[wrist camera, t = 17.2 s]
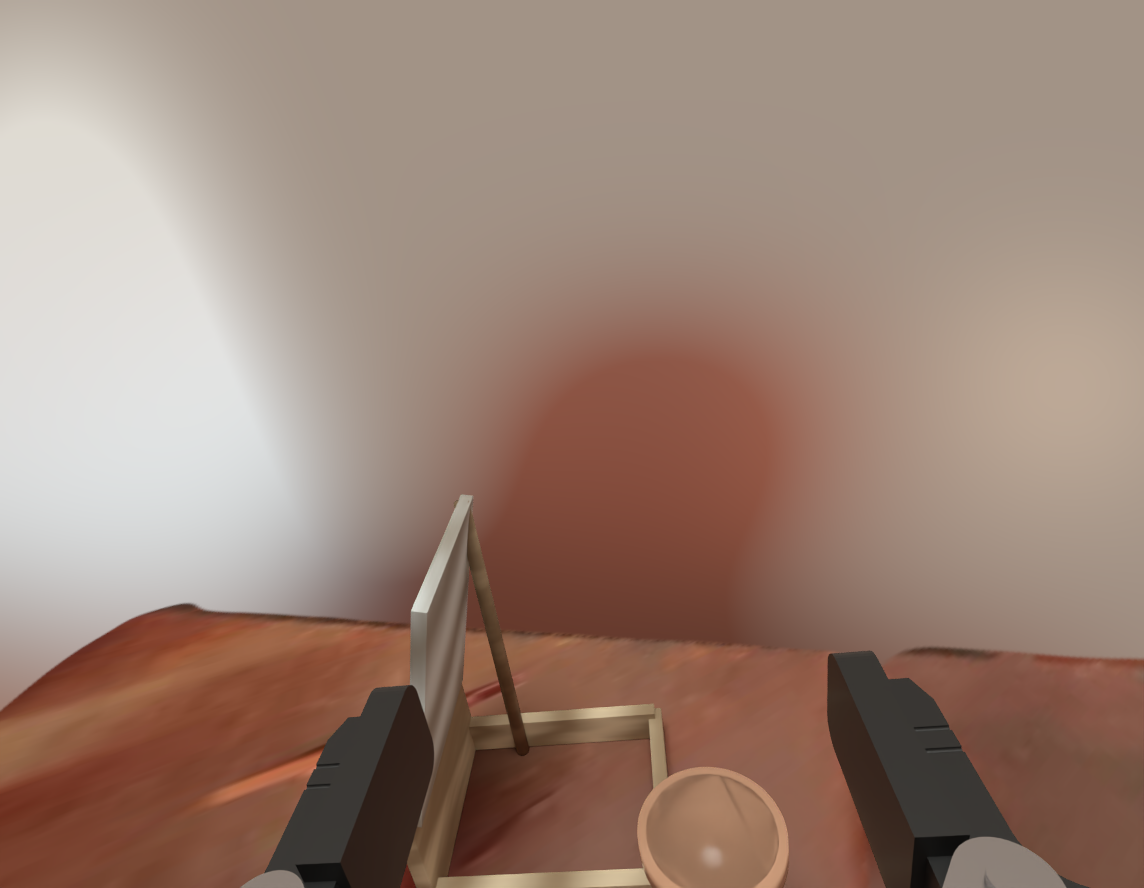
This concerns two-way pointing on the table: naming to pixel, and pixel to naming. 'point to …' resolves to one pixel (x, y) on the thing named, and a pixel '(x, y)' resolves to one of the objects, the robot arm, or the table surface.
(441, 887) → the cold frame
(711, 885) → the clay pot
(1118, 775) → the table surface
